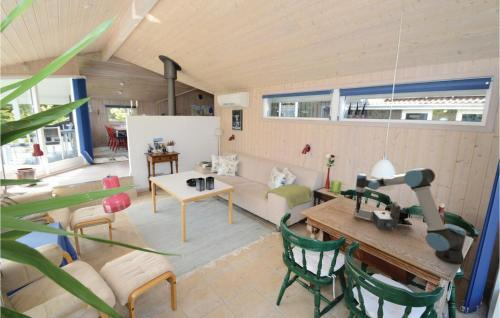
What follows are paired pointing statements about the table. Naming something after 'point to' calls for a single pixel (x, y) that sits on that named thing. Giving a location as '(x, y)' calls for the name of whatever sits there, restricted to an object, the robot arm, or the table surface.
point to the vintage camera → (399, 215)
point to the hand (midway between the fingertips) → (357, 215)
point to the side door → (364, 213)
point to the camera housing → (382, 219)
